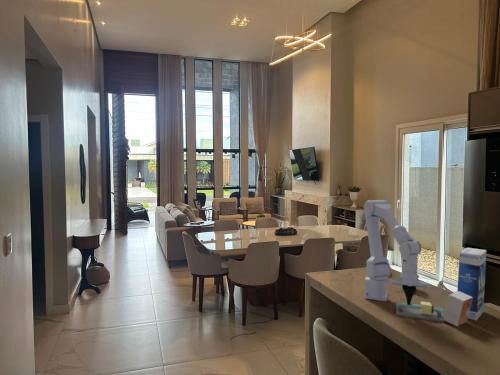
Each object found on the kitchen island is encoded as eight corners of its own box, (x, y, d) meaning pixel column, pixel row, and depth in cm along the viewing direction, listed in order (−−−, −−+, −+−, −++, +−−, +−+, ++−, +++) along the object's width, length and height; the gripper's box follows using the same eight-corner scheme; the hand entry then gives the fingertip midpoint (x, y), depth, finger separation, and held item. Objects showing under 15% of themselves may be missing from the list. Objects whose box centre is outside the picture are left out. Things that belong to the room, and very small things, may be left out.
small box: (457, 327, 134) (463, 301, 132) (442, 319, 139) (448, 294, 137) (467, 322, 139) (473, 297, 137) (452, 314, 143) (458, 290, 141)
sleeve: (421, 313, 143) (421, 304, 143) (420, 310, 146) (420, 301, 146) (431, 314, 142) (431, 305, 142) (430, 311, 145) (430, 302, 145)
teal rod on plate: (396, 315, 144) (396, 303, 144) (395, 308, 152) (396, 296, 151) (444, 322, 138) (445, 310, 138) (441, 314, 146) (442, 302, 145)
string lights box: (476, 321, 140) (480, 255, 138) (454, 315, 145) (458, 251, 143) (483, 311, 150) (487, 249, 148) (462, 306, 155) (466, 246, 153)
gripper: (390, 271, 144) (389, 304, 145) (430, 275, 139) (429, 310, 140) (389, 266, 151) (389, 299, 151) (428, 270, 146) (427, 303, 146)
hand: (408, 303), depth 146 cm, fingers closed, pressing on teal rod on plate
